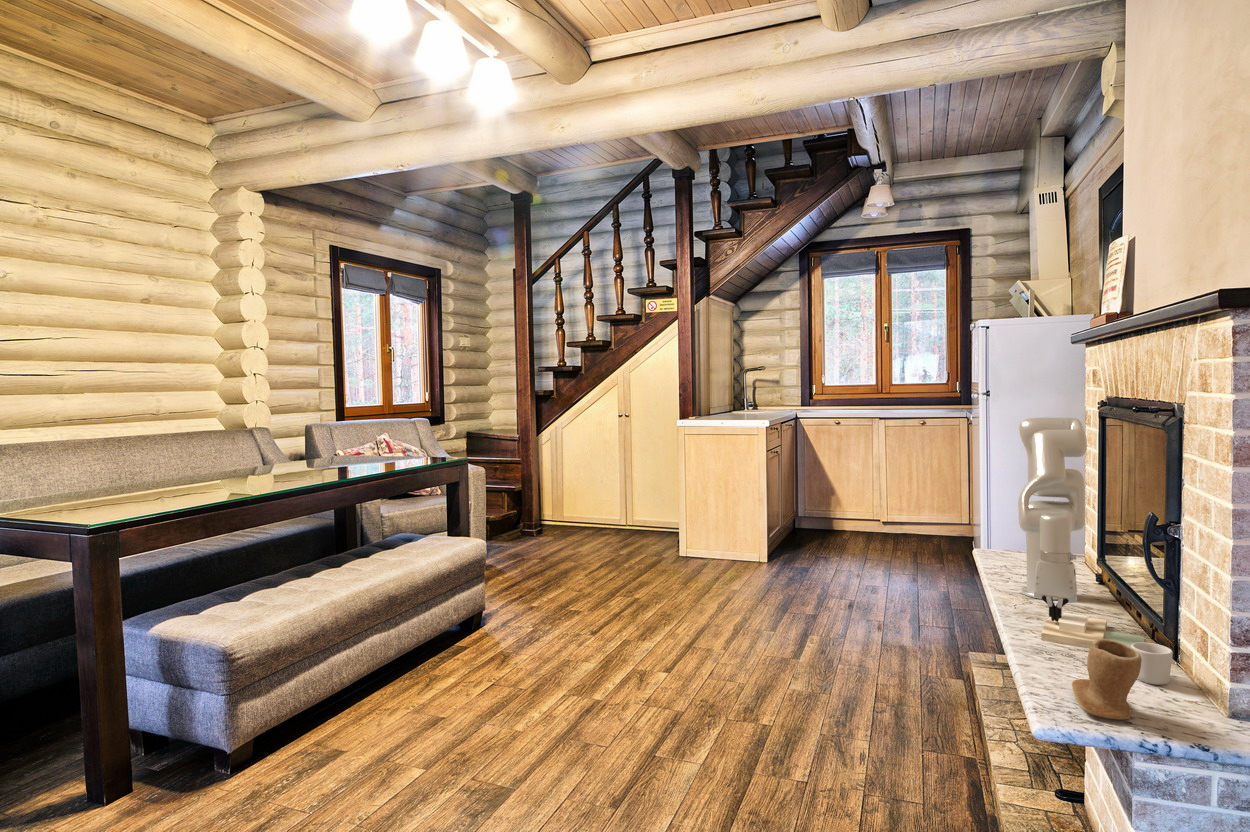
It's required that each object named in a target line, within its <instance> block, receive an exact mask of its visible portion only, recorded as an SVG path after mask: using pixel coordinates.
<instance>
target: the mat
mask: <svg viewBox="0 0 1250 832" xmlns="http://www.w3.org/2000/svg"><path fill="white" fill-rule="evenodd" d="M1104 639H1109V640H1113V641H1117V642H1120V643H1123V644H1125V645H1127V646H1129V647H1131V645H1132V644H1133V643H1137V642H1145V636H1142V635H1135V634H1129V633H1125V632H1124V633H1122V632H1117V631H1110V630H1106V633H1105V637H1104Z"/></svg>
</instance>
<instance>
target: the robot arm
mask: <svg viewBox="0 0 1250 832" xmlns="http://www.w3.org/2000/svg"><path fill="white" fill-rule="evenodd" d="M1018 430H1019V436H1020V439H1021V441H1022V442H1021V443H1022V444H1023V446H1024V448H1025V451H1026V455H1027V482H1026V484H1025V485H1024V486H1023V487H1022V489H1021V491H1020V492H1019V493H1020V494H1019V496H1018V500H1017V501H1018V508H1017V509H1018V523H1019V527H1020V529H1021V531H1023V532H1024V533H1025V536H1026V538H1025V539H1026V540H1025V541H1026V543H1025V544H1026V547H1025V548H1026V586H1024V587H1022V588H1020V589H1021V591H1020V592H1021V593H1022V594H1023V595H1024V596H1027V597H1029V598H1032V599H1033V598H1034V599H1037V600H1038V599H1040V600H1042V601H1043V602H1045V604H1046V605H1047V607H1048V617H1051V621H1054V620H1055V621H1057V622H1058V620H1059V618H1061V617H1062V613H1063V612H1062V609H1063V607H1065V606H1066V605H1067V604H1073V603H1075V604H1076V603H1077V602H1078V598H1077V590H1078V588H1077V575H1076V567H1075V563H1074V562H1073V561H1076V560H1077V554H1073V553H1072V551H1071V533H1072V532H1079V531H1081V530H1083V529H1084V527H1085V522H1086V498H1085V497H1086V493H1085V491H1086V490H1085V489H1086V487H1085V479H1084V476H1083V474H1082V472H1081V471H1080V470H1078V469H1074V468H1066V463H1065V462H1066V461H1065V458H1081V457H1083V456H1085V455H1086V453H1087V451H1088V442H1087V441H1088V439H1087V435H1086V432H1085V430H1084V426H1083V423H1082V421H1081V420H1080V419H1079V418H1076V417H1032V418H1031V417H1029V418H1025V419H1023V420H1021V421H1020V423H1019V427H1018ZM1031 496H1036V497H1043V498H1046V497H1047V498H1065V499H1067V500H1068V501H1061V500H1060V501H1058V500H1057V501H1055V500H1032V501H1030V498H1031ZM1055 600H1056V601H1057V603H1056V604H1055V602H1054V601H1055Z"/></svg>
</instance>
